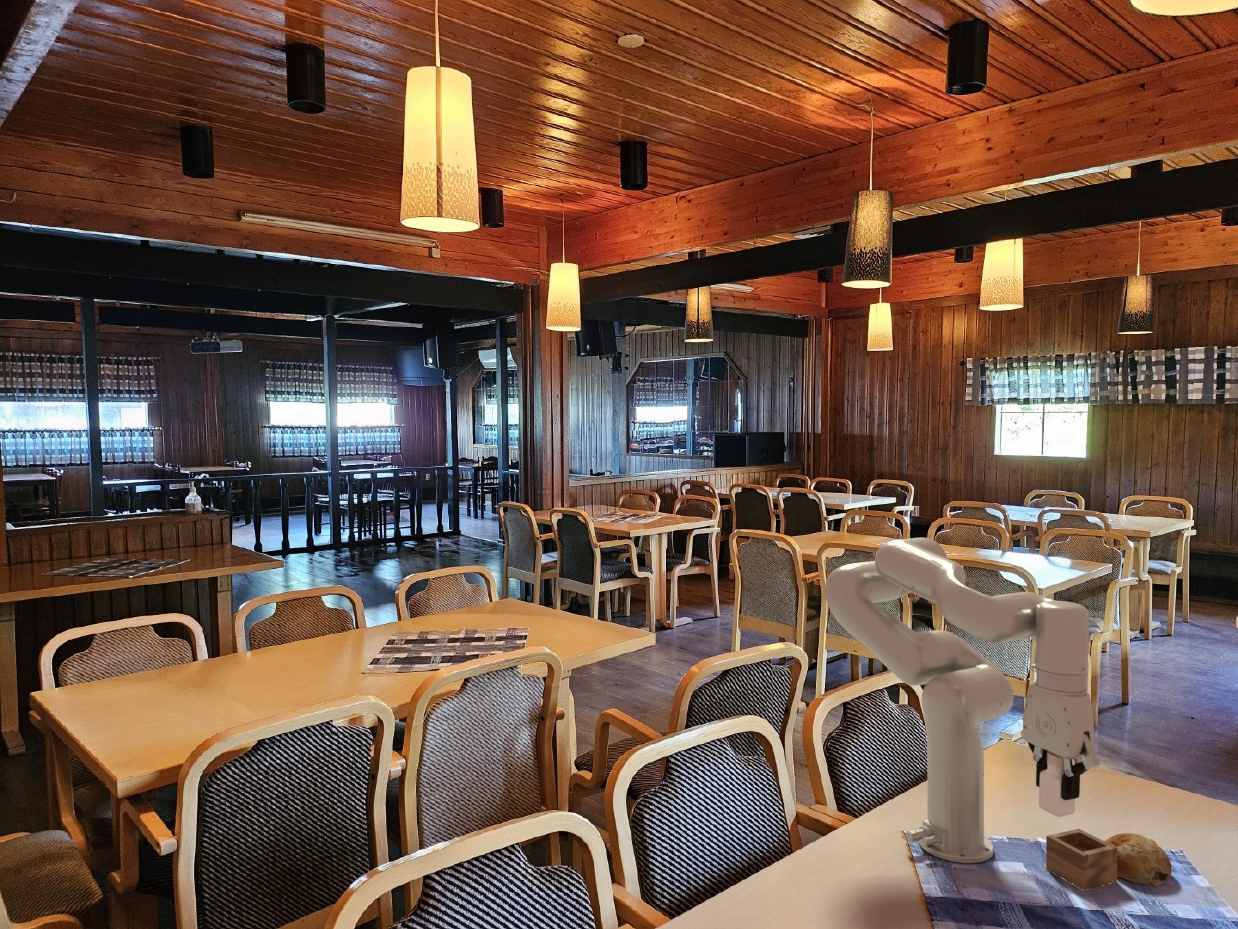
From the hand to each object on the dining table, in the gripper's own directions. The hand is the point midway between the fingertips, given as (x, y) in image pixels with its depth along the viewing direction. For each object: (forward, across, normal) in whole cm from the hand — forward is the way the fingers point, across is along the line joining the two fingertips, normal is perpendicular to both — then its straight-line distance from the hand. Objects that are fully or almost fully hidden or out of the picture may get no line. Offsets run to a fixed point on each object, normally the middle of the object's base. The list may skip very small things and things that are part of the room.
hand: (1057, 791), depth 134 cm
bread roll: (+18, -1, +19) cm, 26 cm away
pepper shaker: (+4, 0, 0) cm, 4 cm away
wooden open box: (+17, -3, +9) cm, 20 cm away
